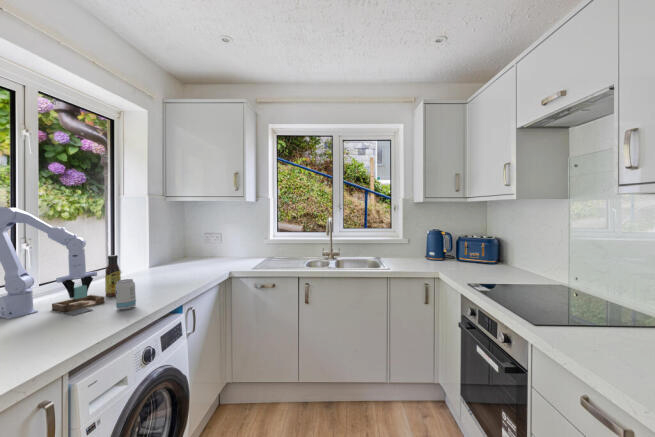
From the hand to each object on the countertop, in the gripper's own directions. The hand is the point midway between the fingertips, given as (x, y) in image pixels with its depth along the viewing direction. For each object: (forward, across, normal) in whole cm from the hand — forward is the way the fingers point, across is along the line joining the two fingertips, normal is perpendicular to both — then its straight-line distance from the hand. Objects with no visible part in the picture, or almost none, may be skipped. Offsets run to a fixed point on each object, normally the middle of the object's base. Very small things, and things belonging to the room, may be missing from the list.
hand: (78, 295), depth 135 cm
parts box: (+5, 0, 0) cm, 5 cm away
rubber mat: (+5, -4, -9) cm, 11 cm away
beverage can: (+5, +6, -24) cm, 25 cm away
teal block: (+1, 0, 0) cm, 1 cm away
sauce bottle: (+5, +17, +4) cm, 18 cm away
